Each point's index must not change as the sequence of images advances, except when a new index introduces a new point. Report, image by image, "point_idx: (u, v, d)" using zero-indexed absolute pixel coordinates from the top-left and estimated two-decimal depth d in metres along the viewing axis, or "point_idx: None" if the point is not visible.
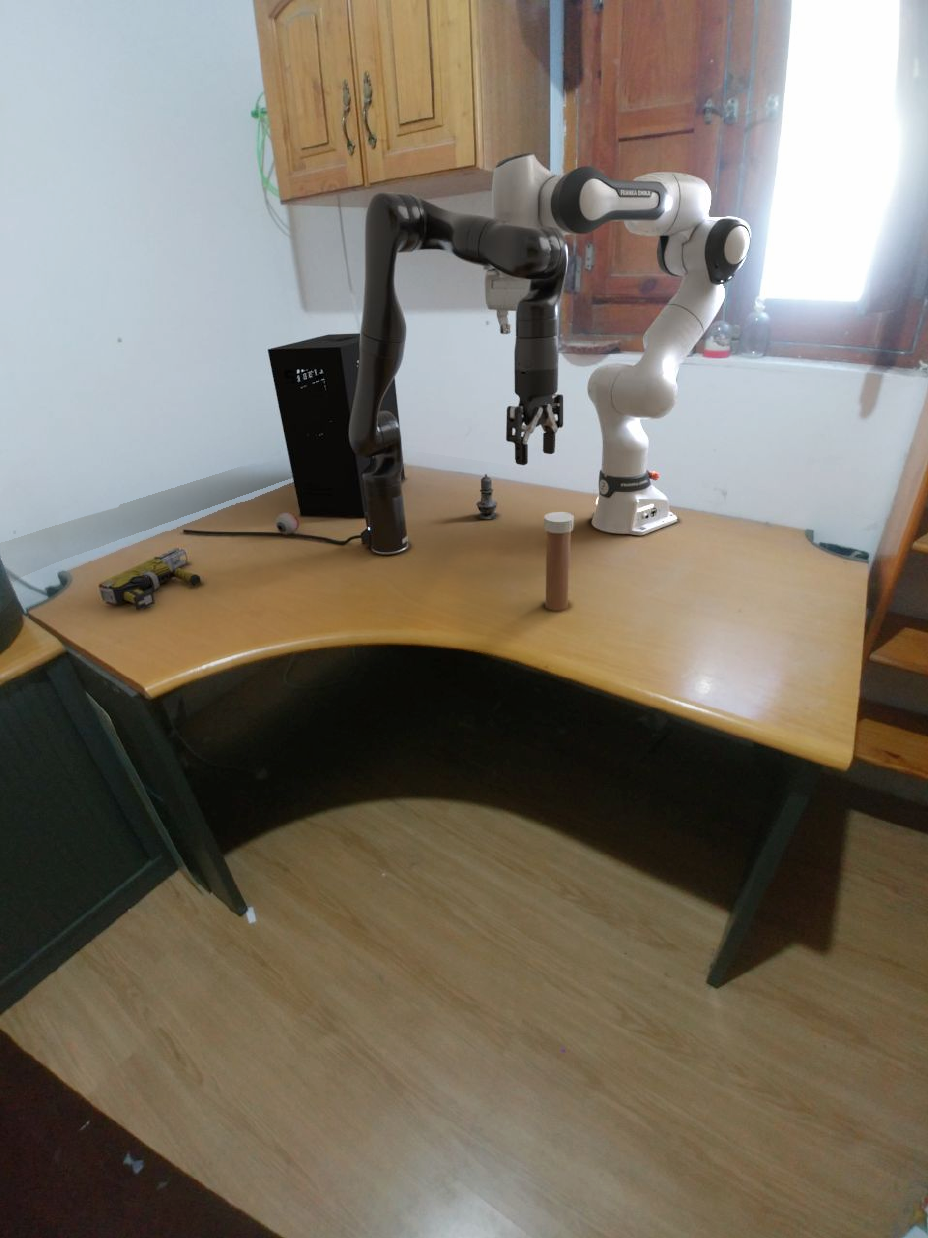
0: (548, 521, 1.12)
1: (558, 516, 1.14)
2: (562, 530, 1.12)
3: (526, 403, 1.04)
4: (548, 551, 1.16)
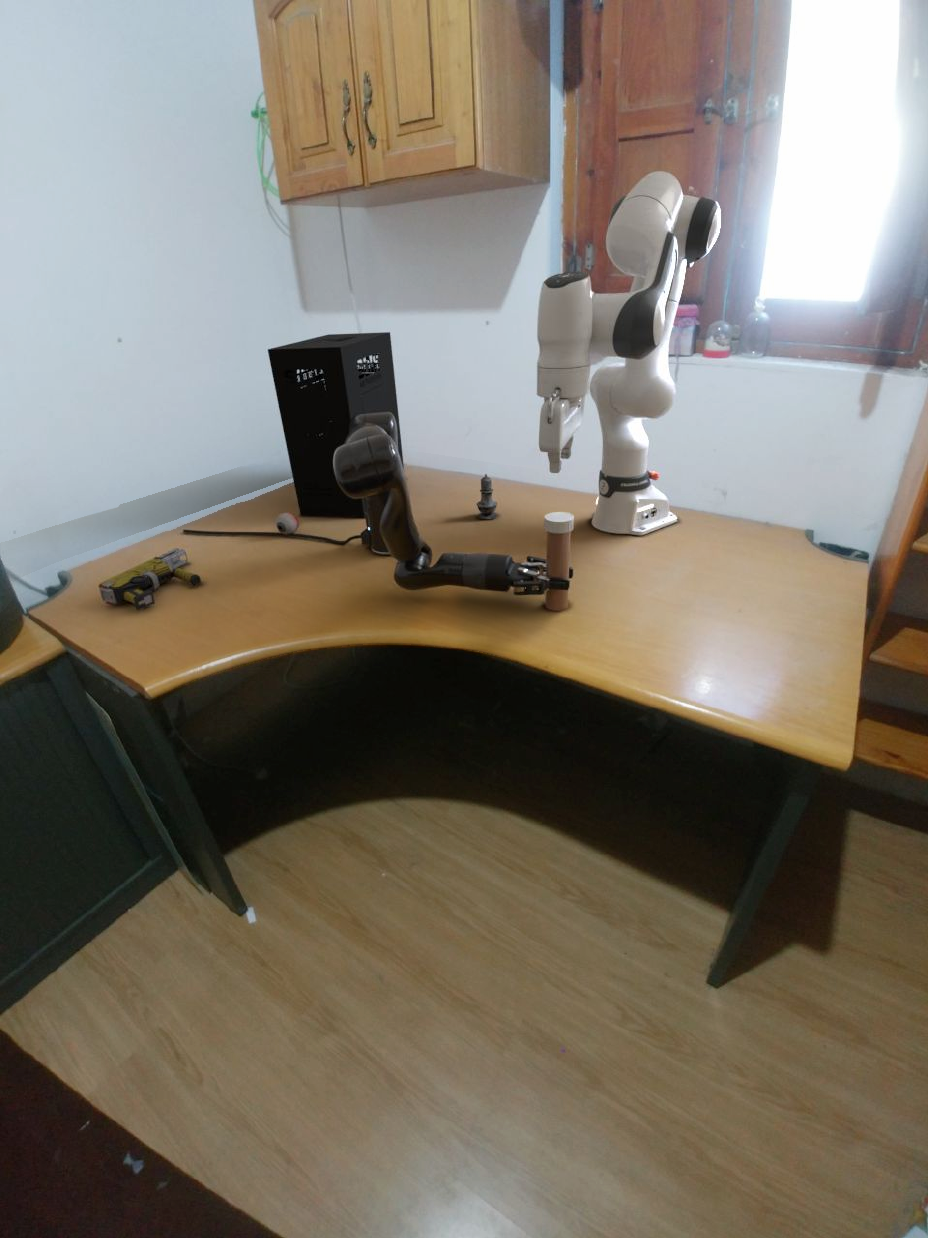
0: (548, 521, 1.12)
1: (558, 516, 1.14)
2: (562, 530, 1.12)
3: None
4: (548, 551, 1.16)
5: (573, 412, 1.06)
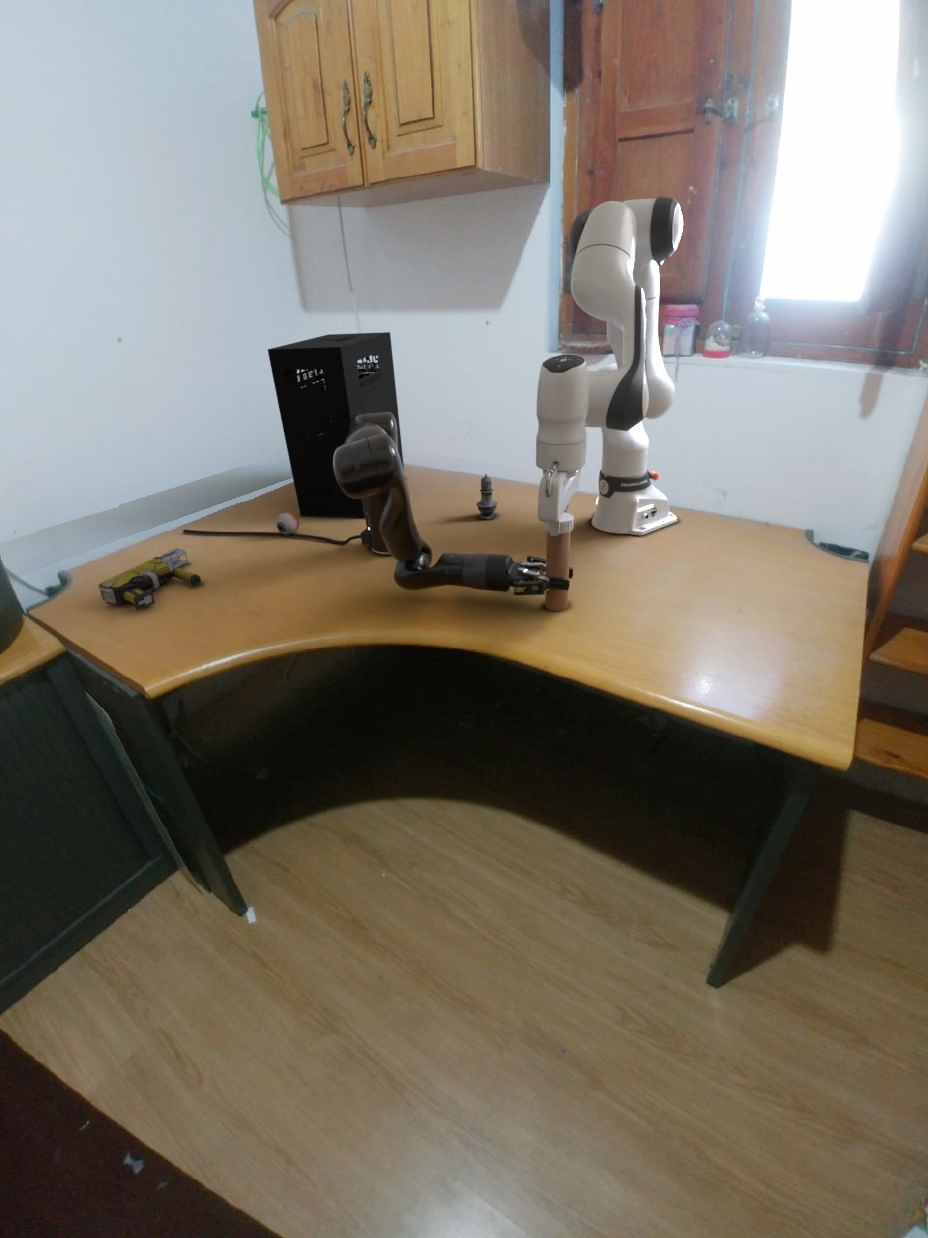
0: None
1: None
2: (562, 530, 1.12)
3: None
4: (548, 551, 1.16)
5: (570, 480, 1.12)
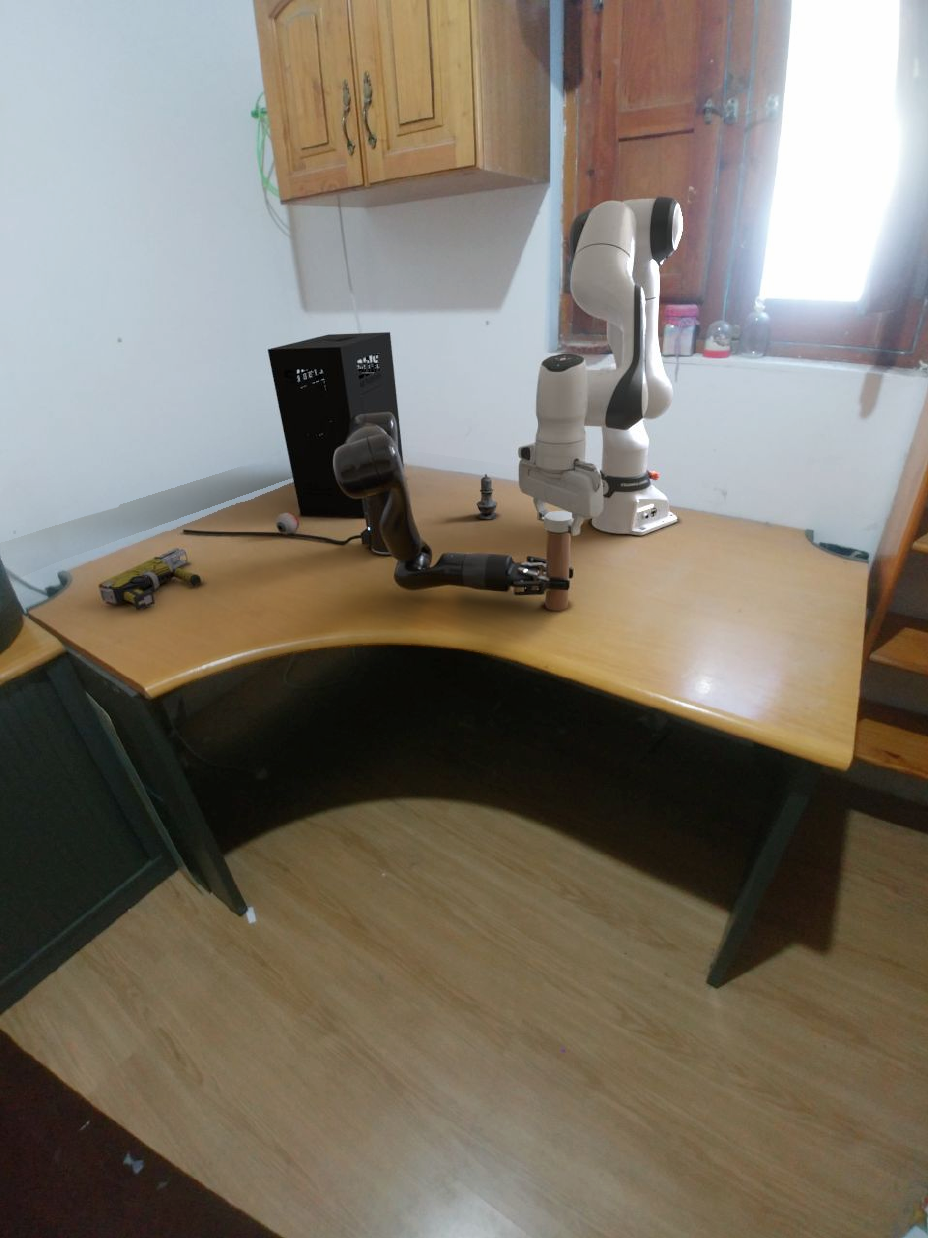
0: (565, 522, 1.11)
1: (558, 515, 1.13)
2: None
3: None
4: (548, 551, 1.16)
5: None
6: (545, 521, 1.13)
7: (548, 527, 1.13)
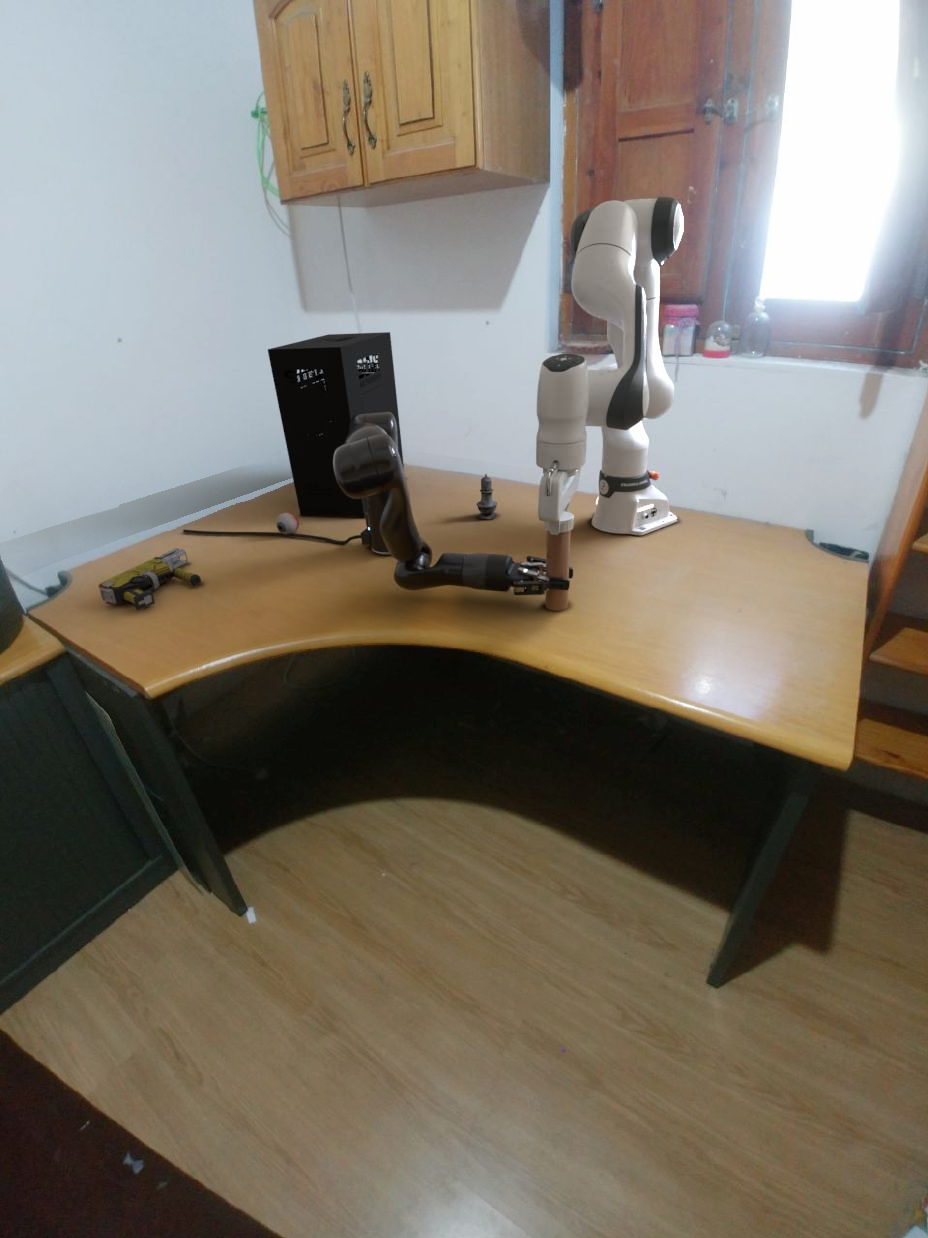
0: (565, 522, 1.11)
1: None
2: (573, 524, 1.14)
3: None
4: (548, 551, 1.16)
5: (570, 479, 1.12)
6: (545, 521, 1.13)
7: (548, 527, 1.13)
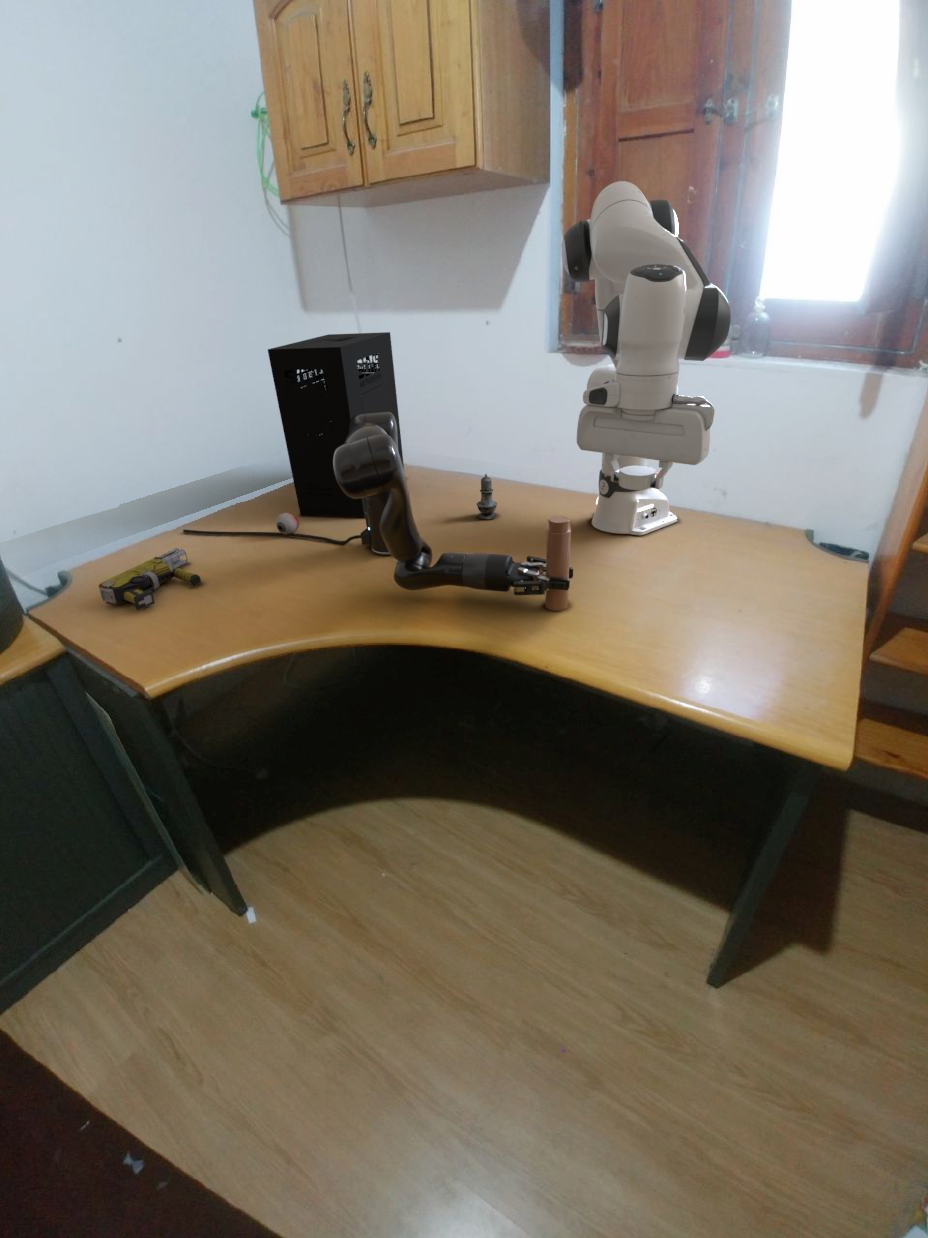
0: None
1: (638, 470, 0.94)
2: None
3: None
4: (548, 551, 1.16)
5: None
6: (640, 480, 0.92)
7: (646, 485, 0.93)
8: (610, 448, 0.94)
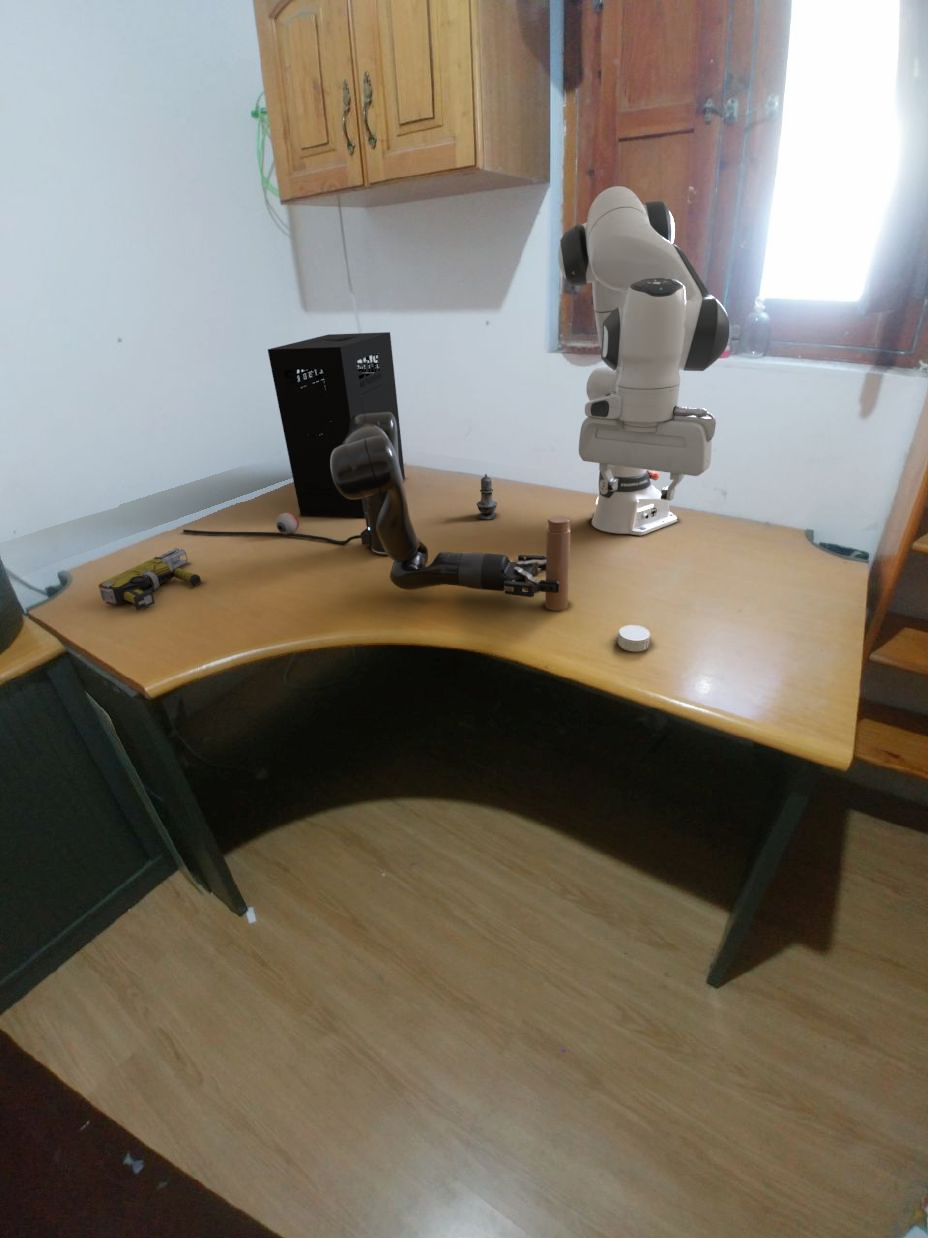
0: None
1: (634, 633, 1.08)
2: None
3: None
4: (548, 551, 1.16)
5: None
6: (636, 644, 1.06)
7: (641, 647, 1.07)
8: (612, 459, 0.94)
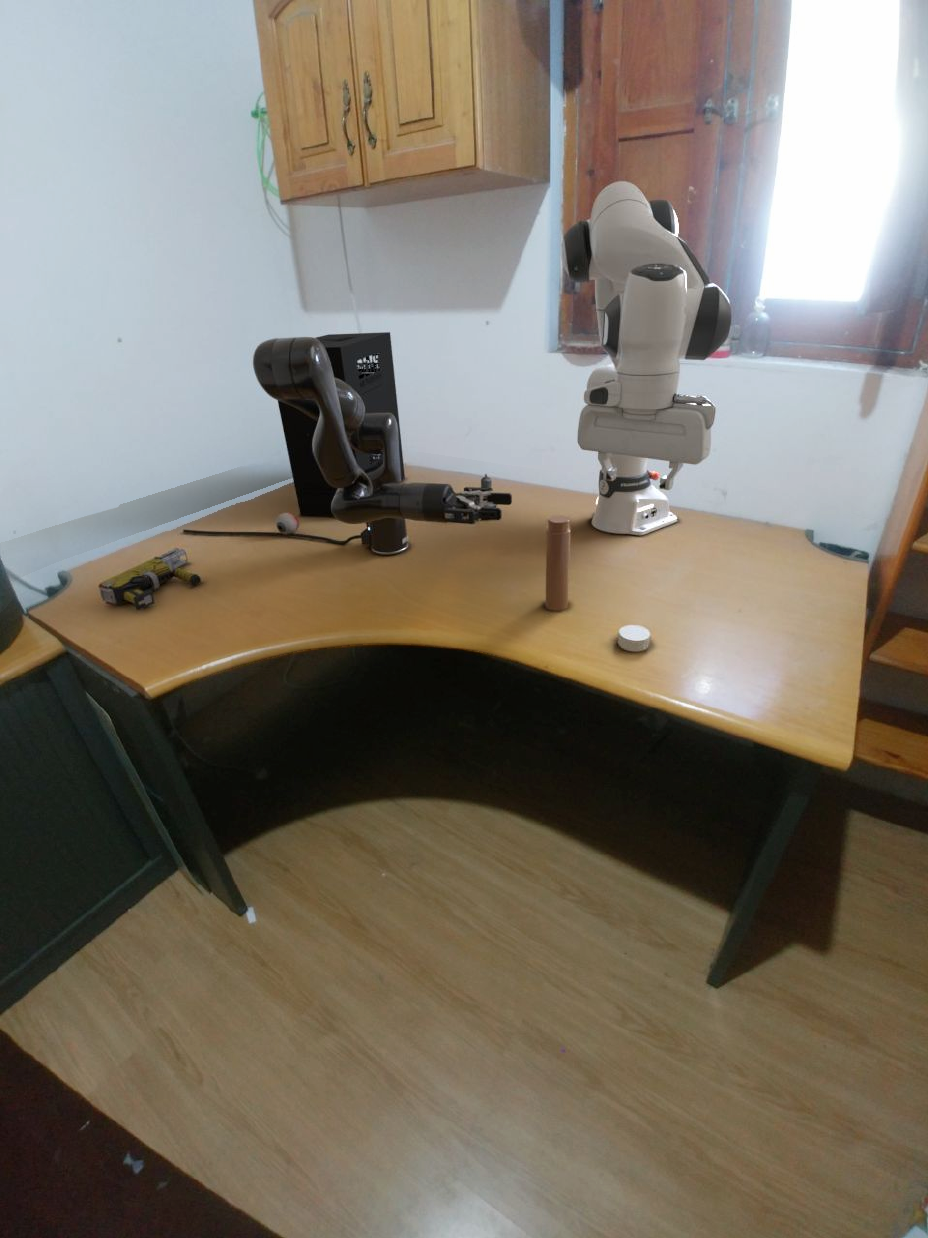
0: None
1: (634, 633, 1.08)
2: None
3: None
4: (548, 551, 1.16)
5: None
6: (636, 644, 1.06)
7: (641, 647, 1.07)
8: (611, 448, 0.94)
